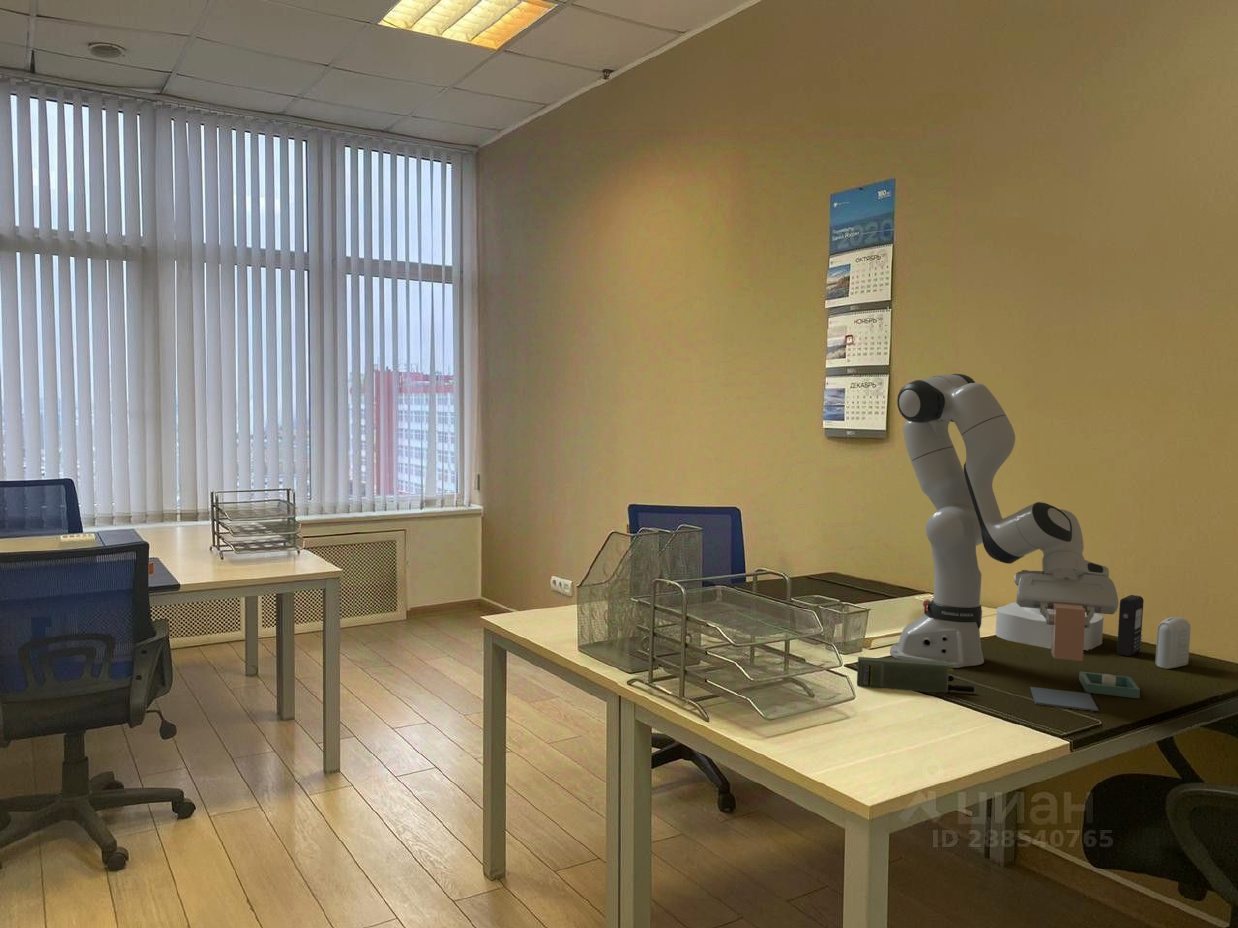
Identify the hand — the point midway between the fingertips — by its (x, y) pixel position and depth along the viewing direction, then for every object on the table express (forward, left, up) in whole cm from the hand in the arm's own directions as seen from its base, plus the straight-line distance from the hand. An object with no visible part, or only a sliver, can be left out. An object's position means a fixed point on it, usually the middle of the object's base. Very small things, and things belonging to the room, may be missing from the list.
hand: (1067, 624), depth 198 cm
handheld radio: (-31, -6, -17) cm, 36 cm away
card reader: (+22, +53, -17) cm, 59 cm away
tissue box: (+3, +62, -17) cm, 65 cm away
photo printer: (+30, +44, -17) cm, 56 cm away
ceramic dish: (+11, +14, -17) cm, 24 cm away
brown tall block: (0, 0, -7) cm, 7 cm away
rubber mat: (0, 0, -17) cm, 16 cm away
